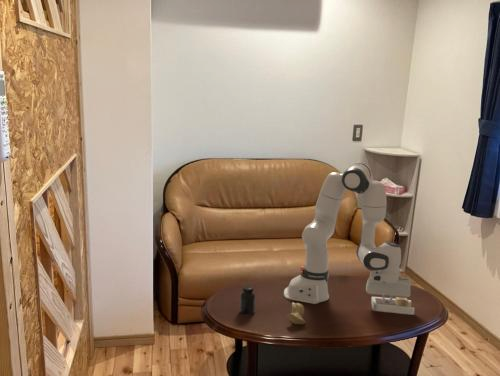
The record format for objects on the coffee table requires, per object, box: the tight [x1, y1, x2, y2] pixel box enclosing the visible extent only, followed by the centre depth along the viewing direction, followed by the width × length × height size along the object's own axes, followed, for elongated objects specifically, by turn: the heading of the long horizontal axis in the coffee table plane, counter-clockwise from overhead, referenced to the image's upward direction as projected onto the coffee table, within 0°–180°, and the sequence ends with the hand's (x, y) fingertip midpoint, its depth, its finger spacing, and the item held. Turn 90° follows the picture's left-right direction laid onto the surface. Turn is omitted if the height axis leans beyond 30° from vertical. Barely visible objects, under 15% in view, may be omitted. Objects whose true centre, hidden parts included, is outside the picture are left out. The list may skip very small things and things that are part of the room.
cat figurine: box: [287, 301, 307, 326], centre depth 203 cm, size 8×7×12 cm
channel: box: [370, 295, 416, 316], centre depth 219 cm, size 18×10×3 cm, turn 81°
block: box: [395, 296, 409, 307], centre depth 218 cm, size 5×5×5 cm
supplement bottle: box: [239, 284, 256, 316], centre depth 208 cm, size 7×7×12 cm
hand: (386, 303), depth 219 cm, fingers closed
